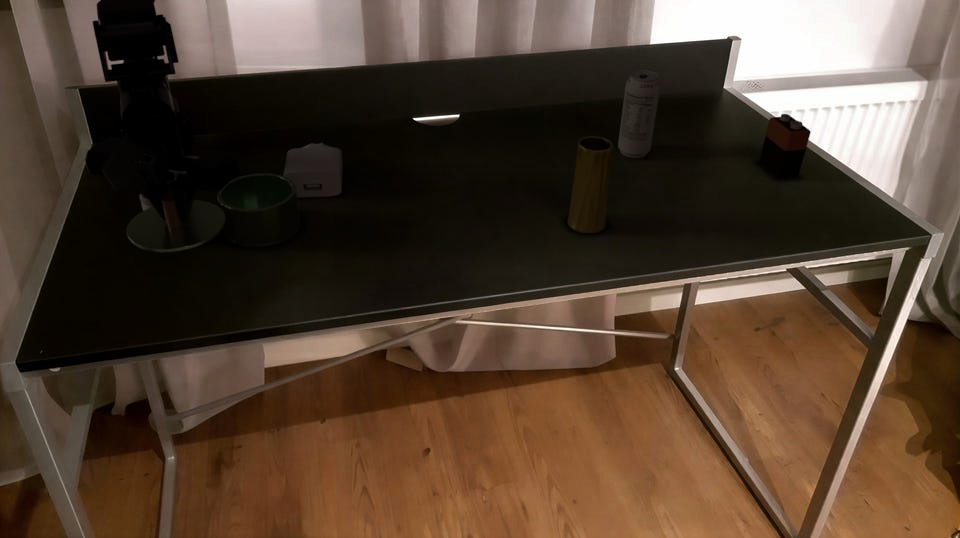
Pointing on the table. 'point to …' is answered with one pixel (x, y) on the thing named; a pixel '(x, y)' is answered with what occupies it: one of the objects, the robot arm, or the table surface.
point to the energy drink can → (639, 113)
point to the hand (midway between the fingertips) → (175, 220)
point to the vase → (590, 185)
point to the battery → (784, 146)
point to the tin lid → (175, 226)
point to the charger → (315, 170)
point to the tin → (259, 210)
